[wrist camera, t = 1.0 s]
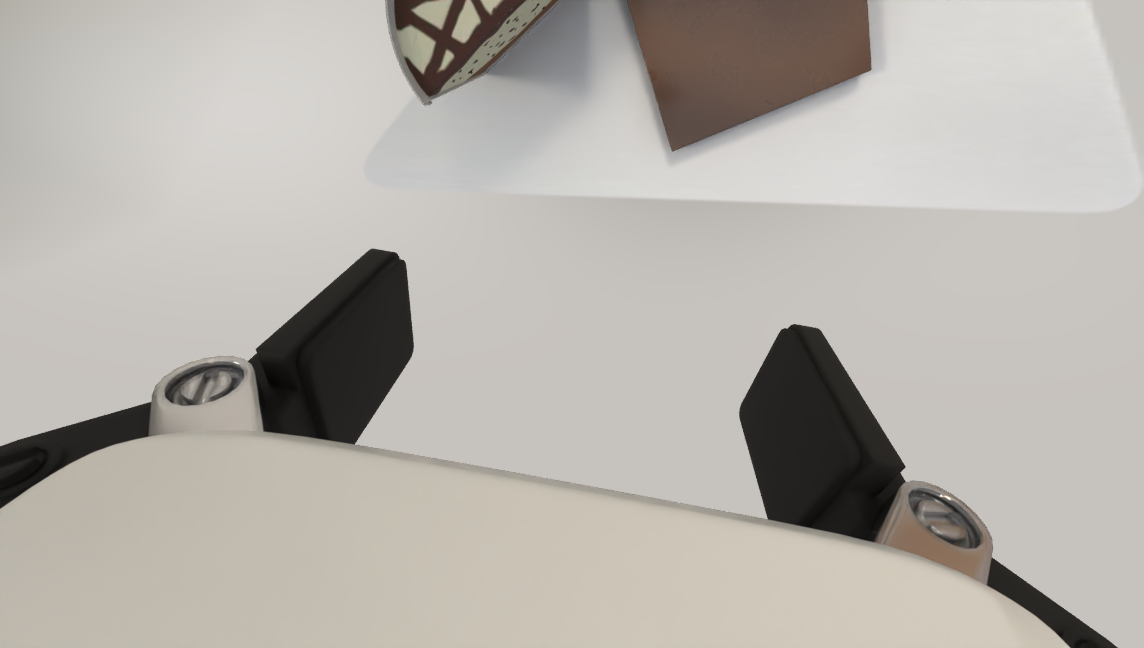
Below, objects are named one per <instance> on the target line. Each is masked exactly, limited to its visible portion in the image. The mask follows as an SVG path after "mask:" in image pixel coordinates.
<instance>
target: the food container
mask: <svg viewBox="0 0 1144 648" xmlns="http://www.w3.org/2000/svg"><path fill="white" fill-rule="evenodd" d="M385 1H386V2H385V3H386V16H387V23H388V29H389V34H390V38H391V41H392V45H393V49H394V52H395V55H396V57H397V60H398V62H399V65H400V67H401V69H402V72H403V74H404V76H405V78H406V79H407V81H408V83H409V85H410V87H411V88H412V90H413V92H414V93H415V94H416V96H417V97H418V98H419V100H420V101H421V103H422V104H423V105H430V104H431V103H432V102H431V100H433V99H435V98H437V97H439V96H441V95H443V94H446V93H448V92H450V91H452V90H454V89H456V88H458V87H460V86H462V85H464V84H466V83H468V82H470V81H473V80H475V79H477V78H479V77H481V76H483V75H485V74H486V73H487V72H488V71H489V70H490V69H491V68H492V67H493V66H494V65H495V64H496V63H497V62H498V61H499V60H500V59H501V58H502V57H504V56H505V55H506V54H507V53H508V52H509V51H510V50H511V49H512V48H513V47H514V46H515V45H516V44H517V43H518V42H519V41H520V40H521V39H522V38H523V37H524V36H525V35H526V34H527V33H528V32H529V31H530V30H531V29H532V28H533V27H534V26H536V25H537V24H538V23H539V22H540V21H541V20H542V19H543V18H544V17H545V16H546V15H547V14H548V13H549V12H550V11H551V10H552V9H553V8H554V7H555V6H556V5H557V4H558V3H559V2H560V1H561V0H385Z"/></svg>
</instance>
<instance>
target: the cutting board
mask: <svg viewBox="0 0 1144 648" xmlns="http://www.w3.org/2000/svg"><path fill="white" fill-rule="evenodd" d="M627 3H628V7H629V10H630V13H631V17H632V20H633V23H634V27H635V30H636V33H637V37H638V40H639V43H640V47H641V50H642V53H643V57H644V60H645V63H646V67H647V70H648V73H649V77H650V80H651V83H652V87H653V90H654V93H655V97H656V100H657V103H658V107H659V110H660V113H661V117H662V120H663V123H664V127H665V130H666V133H667V137H668V140H669V143H670V147H671V150H672V151H675V150H678V149H680V148H683V147H685V146H688V145H690V144H692V143H695V142H697V141H700V140H702V139H705V138H707V137H710V136H712V135H714V134H717V133H719V132H722V131H724V130H727V129H729V128H731V127H734V126H736V125H739V124H741V123H744V122H746V121H749V120H751V119H753V118H756V117H758V116H761V115H763V114H766V113H768V112H771V111H773V110H775V109H778V108H780V107H783V106H785V105H788V104H790V103H792V102H795V101H797V100H800V99H802V98H805V97H807V96H810V95H812V94H814V93H817V92H819V91H822V90H824V89H827V88H829V87H832V86H834V85H836V84H839V83H841V82H844V81H846V80H849V79H851V78H854V77H856V76H858V75H861V74H863V73H866V72H868V71H870V70H871V54H870V37H869V21H868V5H867V0H627Z"/></svg>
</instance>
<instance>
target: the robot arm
mask: <svg viewBox="0 0 1144 648" xmlns="http://www.w3.org/2000/svg"><path fill="white" fill-rule="evenodd" d="M413 348H414V343H413V333H412V322H411V311H410V301H409V291H408V280H407V269H406V263H405V261H404V260H401V259H399V256H398V254H397V253H395V252H389V251H384V250H378V249H370V250H369V251H368V252H366V253H365V254H364V255H363V256H362V257H361V258H360V259H359V260H357V261H356V262H355V263H354V264H353V265H352V266H350V267H349V268H348V269H347V270H346V271H345V272H344V273H343V274H341V275H340V276H339V277H338V278H337V279H336V280H334V281H333V282H332V283H331V284H330V285H329V286H328V287H326V288H325V289H324V290H323V291H322V292H321V293H320V294H318V295H317V296H316V297H315V298H314V299H313V300H311V301H310V302H309V303H308V304H307V305H306V306H305V307H304V308H302V309H301V310H300V311H299V312H298V313H297V314H295V315H294V316H293V317H292V318H291V319H290V320H289V321H288V322H286V323H285V324H284V325H283V326H282V327H281V328H279V329H278V330H277V331H276V332H275V333H274V334H273V335H271V336H270V337H269V338H268V339H267V340H266V341H264V342H263V343H262V344H261V345H260V346H259V347H258V348H257V349H256V351H257V354H255V355H254V356H253V357H252V358H251V359H250V360H249V361H248V362H247V361H246V360H244V359H242V358H238V357H234V356H216V357H209V358H203V359H200V360H196V361H193V362H190V363H188V364H185V365H183V366H181V367H179V368H177V369H175V370H173V371H172V372H171V373H169V374H168V375H166V376H165V377H163V378H162V379H161V381H160V382H159V383H158V384H157V385H156V386H155V389H154V391H153V394H152V401H151V402H149V403H146V404H143V405H139V406H135V407H132V408H128V409H125V410H121V411H118V412H114V413H111V414H108V415H104V416H100V417H97V418H93V419H90V420H86V421H83V422H80V423H76V424H73V425H69V426H66V427H62V428H59V429H55V430H52V431H48V432H45V433H41V434H38V435H34V436H31V437H27V438H24V439H20V440H17V441H14V442H11V443H9V444H6V445H3V446H0V648H1117V647H1116V646H1115V645H1114V644H1112V643H1111V642H1110V641H1109V640H1107V639H1106V638H1104V637H1103V636H1102V635H1100V634H1099V633H1097V632H1096V631H1094V630H1093V629H1092V628H1090V627H1089V626H1087V625H1086V624H1085V623H1083V622H1082V621H1080V620H1079V619H1078V618H1076V617H1075V616H1074V615H1072V614H1071V613H1069V612H1068V611H1066V610H1065V609H1064V608H1062V607H1061V606H1059V605H1058V604H1057V603H1055V602H1054V601H1052V600H1051V599H1050V598H1048V597H1047V596H1045V595H1044V594H1043V593H1041V592H1040V591H1038V590H1037V589H1036V588H1034V587H1033V586H1031V585H1030V584H1028V583H1027V582H1026V581H1024V580H1023V579H1021V578H1020V577H1019V576H1017V575H1016V574H1014V573H1013V572H1012V571H1010V570H1009V569H1007V568H1006V567H1005V566H1003V565H1001V564H1000V563H999V562H998V561H996V560H995V559H993V558H992V552H993V544H992V537H991V536H990V533H989V531H988V529H987V527H986V526H985V524H984V523H983V522H982V521H981V519H980V518H979V517H978V515H977V514H976V513H975V512H973V511H972V510H971V509H970V508H969V507H968V506H967V505H966V504H965V503H964V502H962V501H961V500H959V499H958V498H957V497H955V496H954V495H952V494H951V493H949V492H947V491H945V490H943V489H941V488H940V487H938V486H935V485H932V484H929V483H926V482H922V481H909V482H905V480H904V478H903V477H902V475H901V473H900V472H901V471H902V470H903V469H904V468H905V465H904V463H903V462H902V460H901V459H900V457H899V455H898V454H897V452H896V451H895V449H894V448H893V446H892V444H891V443H890V441H889V439H888V438H887V436H886V435H885V433H884V431H883V430H882V428H881V427H880V425H879V423H878V422H877V420H876V418H875V417H874V415H873V414H872V412H871V410H870V409H869V407H868V406H867V404H866V402H865V401H864V400H863V398H862V396H861V394H860V393H859V391H858V390H857V388H856V386H855V385H854V383H853V382H852V380H851V378H850V377H849V375H848V374H847V372H846V370H845V369H844V367H843V366H842V364H841V362H840V361H839V359H838V357H837V356H836V354H835V353H834V351H833V349H832V348H831V346H830V345H829V343H828V341H827V340H826V338H825V337H824V335H823V334H822V332H821V331H820V330H819V329H818V328H813V327H807V326H802V325H796V324H793V325H791V326H790V327H789V328H788V329H785V328H784V329H782V330H781V331H780V333H779V334H778V336H777V338H776V340H775V342H774V344H773V345H772V347H771V349H770V351H769V353H768V355H767V357H766V359H765V361H764V362H763V364H762V366H761V368H760V370H759V372H758V374H757V376H756V377H755V379H754V381H753V383H752V385H751V387H750V389H749V391H748V393H747V394H746V397H745V398H744V400H743V402H742V404H741V407H740V412H739V416H740V421H741V425H742V428H743V432H744V436H745V439H746V442H747V446H748V450H749V453H750V457H751V460H752V464H753V468H754V471H755V475H756V478H757V482H758V485H759V489H760V493H761V496H762V499H763V503H764V507H765V511H766V514H767V518H768V519H762V518H757V517H752V516H747V515H742V514H736V513H731V512H726V511H720V510H715V509H710V508H704V507H699V506H693V505H688V504H683V503H677V502H672V501H667V500H662V499H656V498H651V497H645V496H640V495H635V494H629V493H624V492H619V491H613V490H608V489H602V488H597V487H591V486H586V485H580V484H574V483H570V482H564V481H559V480H553V479H548V478H542V477H536V476H530V475H525V474H520V473H515V472H509V471H503V470H498V469H492V468H486V467H481V466H475V465H470V464H464V463H458V462H453V461H447V460H441V459H436V458H430V457H425V456H419V455H413V454H408V453H402V452H396V451H390V450H385V449H379V448H373V447H366V446H360V445H355V443H356V441H357V440H358V438H359V437H360V435H361V434H362V432H363V431H364V429H365V428H366V426H367V424H368V423H369V421H370V420H371V418H372V417H373V415H374V414H375V412H376V411H377V409H378V408H379V406H380V405H381V403H382V402H383V400H384V398H385V397H386V395H387V394H388V392H389V391H390V389H391V388H392V386H393V384H394V383H395V382H396V380H397V379H398V377H399V375H400V374H401V372H402V371H403V369H404V368H405V366H406V365H407V363H408V362H409V360H410V358H411V356H412V353H413Z"/></svg>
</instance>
